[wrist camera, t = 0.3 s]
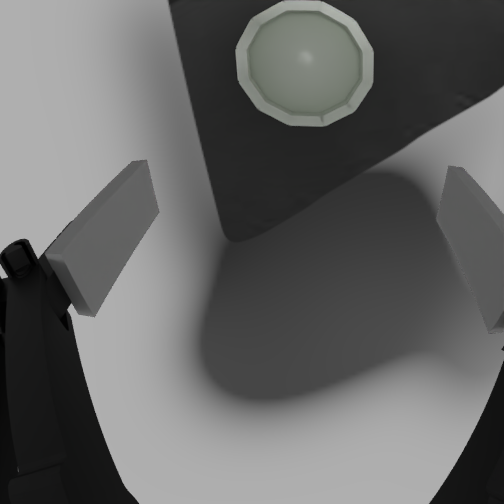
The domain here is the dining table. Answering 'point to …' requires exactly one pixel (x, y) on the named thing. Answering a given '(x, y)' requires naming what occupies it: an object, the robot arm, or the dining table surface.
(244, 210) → the dining table surface
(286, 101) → the dish
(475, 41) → the dining table surface
